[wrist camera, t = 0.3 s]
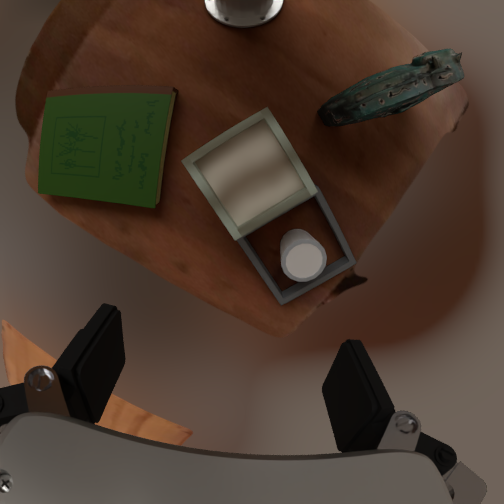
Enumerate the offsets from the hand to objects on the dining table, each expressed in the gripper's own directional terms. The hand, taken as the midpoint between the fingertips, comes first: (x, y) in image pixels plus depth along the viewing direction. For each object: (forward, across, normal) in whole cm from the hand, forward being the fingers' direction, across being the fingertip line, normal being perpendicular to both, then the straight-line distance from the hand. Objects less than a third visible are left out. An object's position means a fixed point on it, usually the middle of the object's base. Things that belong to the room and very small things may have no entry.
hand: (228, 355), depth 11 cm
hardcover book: (+36, +25, -7) cm, 45 cm away
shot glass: (+36, -10, +6) cm, 38 cm away
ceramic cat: (+36, -17, -21) cm, 45 cm away
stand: (+36, 0, -5) cm, 36 cm away
